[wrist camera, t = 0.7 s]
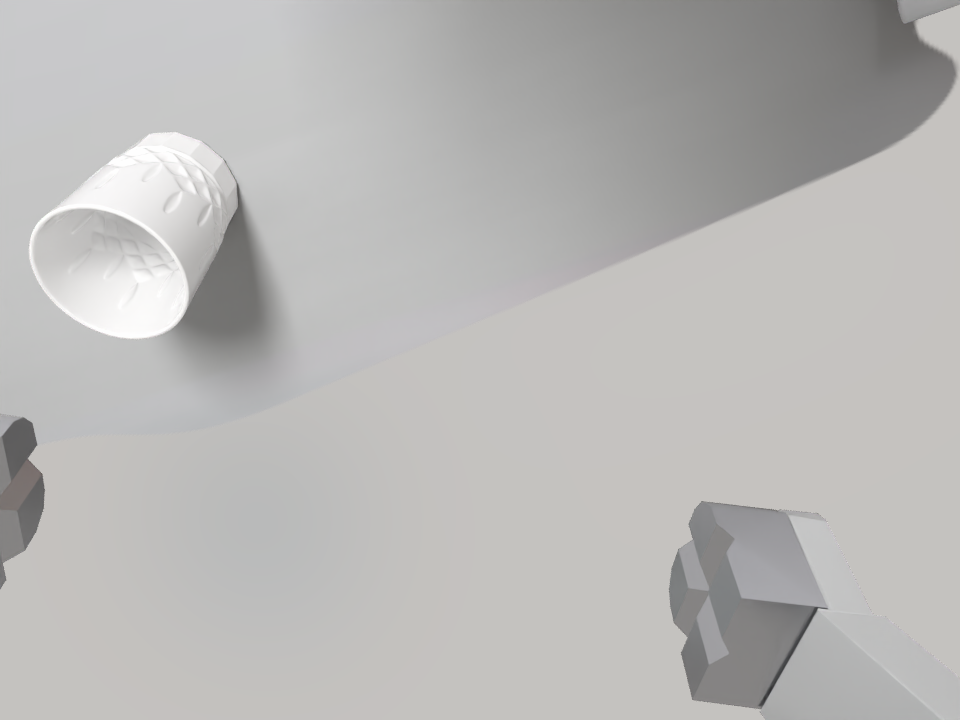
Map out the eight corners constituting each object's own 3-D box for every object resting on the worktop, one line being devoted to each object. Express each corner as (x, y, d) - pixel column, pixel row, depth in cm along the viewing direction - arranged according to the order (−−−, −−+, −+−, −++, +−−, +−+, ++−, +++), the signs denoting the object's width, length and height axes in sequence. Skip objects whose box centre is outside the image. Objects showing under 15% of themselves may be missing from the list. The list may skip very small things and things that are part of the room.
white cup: (88, 142, 48) (-6, 228, 40) (206, 103, 45) (131, 186, 38) (162, 255, 52) (90, 353, 44) (272, 225, 50) (217, 321, 42)
